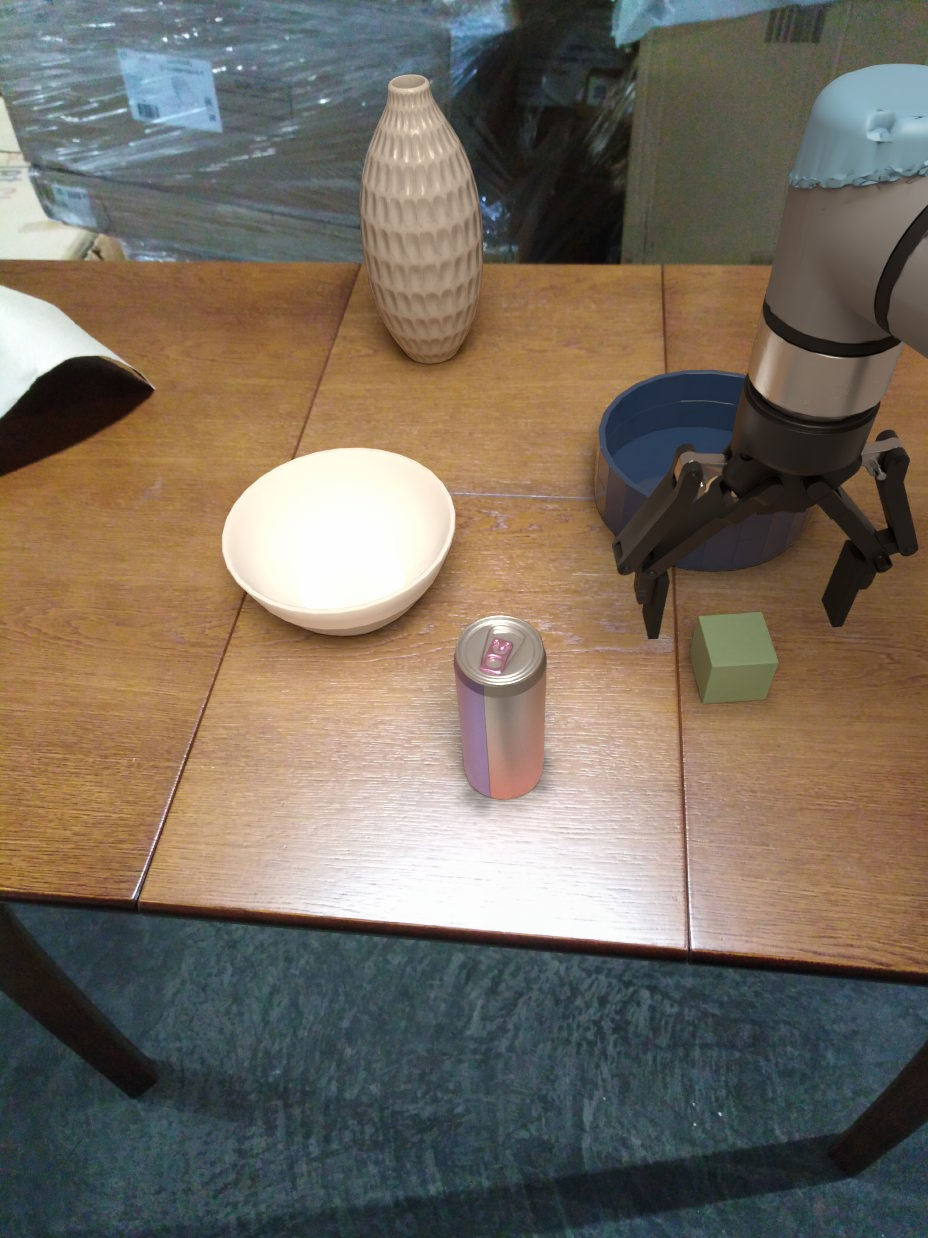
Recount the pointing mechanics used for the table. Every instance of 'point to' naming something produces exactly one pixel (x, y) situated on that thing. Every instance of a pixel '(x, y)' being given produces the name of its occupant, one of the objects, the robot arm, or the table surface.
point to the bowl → (340, 539)
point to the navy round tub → (645, 447)
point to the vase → (421, 225)
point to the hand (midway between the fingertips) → (740, 619)
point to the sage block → (733, 657)
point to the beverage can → (501, 704)
